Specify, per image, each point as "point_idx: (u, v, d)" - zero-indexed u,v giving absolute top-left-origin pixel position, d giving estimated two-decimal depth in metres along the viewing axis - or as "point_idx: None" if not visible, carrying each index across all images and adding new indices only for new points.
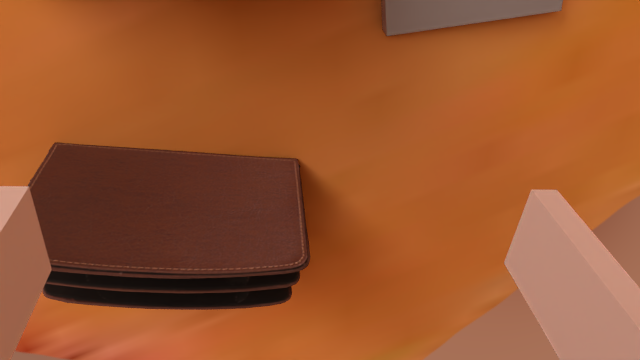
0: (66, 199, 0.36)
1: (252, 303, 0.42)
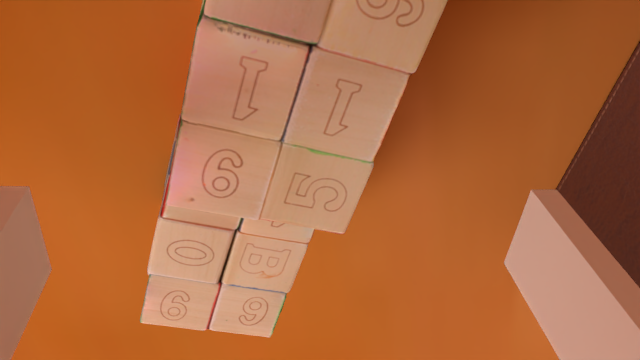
0: None
1: None
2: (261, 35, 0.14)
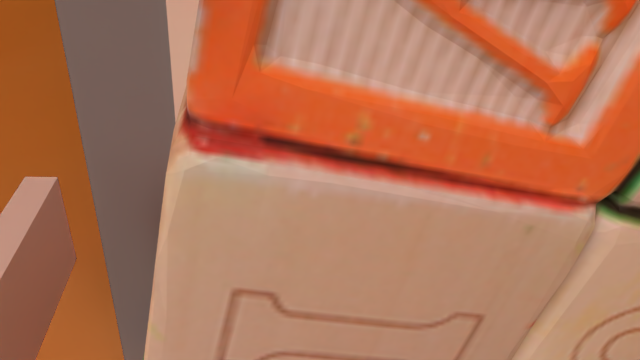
0: None
1: None
2: None
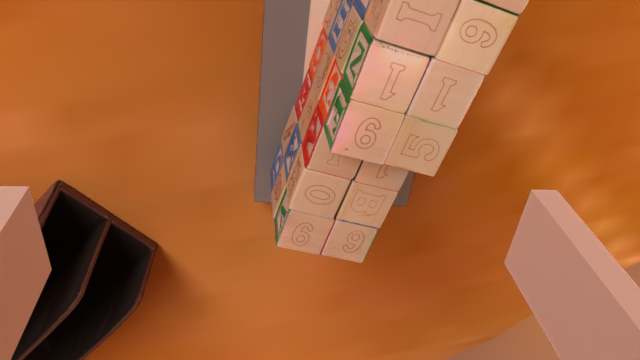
0: None
1: (106, 332, 0.40)
2: (404, 50, 0.24)
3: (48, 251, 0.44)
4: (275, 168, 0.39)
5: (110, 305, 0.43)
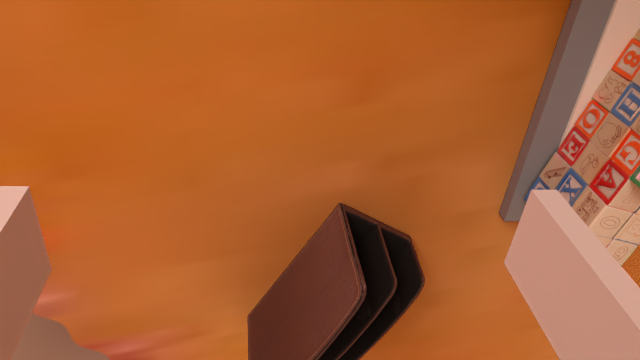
0: (262, 351, 0.56)
1: (404, 307, 0.53)
2: None
3: None
4: None
5: None
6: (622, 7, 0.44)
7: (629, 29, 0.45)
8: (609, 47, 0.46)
